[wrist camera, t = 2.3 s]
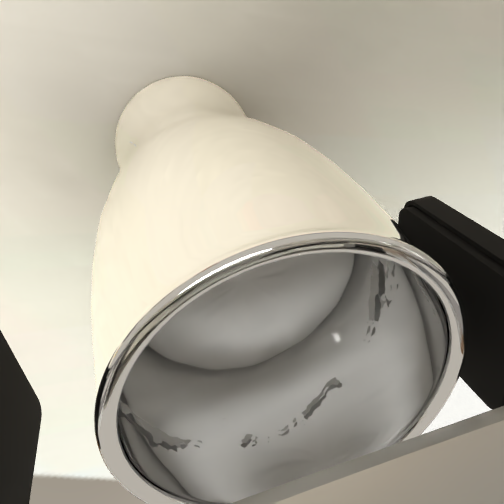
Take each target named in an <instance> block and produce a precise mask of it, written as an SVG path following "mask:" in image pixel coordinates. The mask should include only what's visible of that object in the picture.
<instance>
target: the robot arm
mask: <svg viewBox="0 0 504 504" xmlns="http://www.w3.org/2000/svg"><path fill="white" fill-rule="evenodd" d="M398 225H399V226H400V227H401V228H402V230H403V231H404V232H405V233H406V234H407V235H408V236H409V237H410V238H411V239H412V240H413V242H414V243H415V244H416V245H417V246H418V247H419V248H420V249H421V250H422V251H423V252H424V253H426V254H427V255H428V256H430V257H431V258H432V259H434V260H435V261H436V262H437V263H438V264H439V265H441V266H442V268H443V269H444V270H445V271H446V272H447V273H448V274H449V276H450V277H451V278H452V280H453V281H454V283H455V285H456V286H457V288H458V290H459V292H460V294H461V296H462V299H463V302H464V305H465V308H466V313H467V319H468V346H467V352H466V357H465V361H464V364H463V367H462V370H461V373H460V377H461V378H462V379H463V380H464V381H465V382H466V384H467V385H468V386H469V387H470V388H471V389H472V390H473V391H474V392H475V393H476V394H477V395H478V396H479V397H480V398H481V400H482V401H483V402H484V403H485V404H486V405H487V406H488V407H489V408H491V409H493V410H490V411H488V412H485V413H482V414H479V415H476V416H473V417H471V418H468V419H465V420H462V421H459V422H456V423H454V424H451V425H448V426H445V427H442V428H439V429H437V430H434V431H431V432H428V433H425V434H422V435H420V436H417V437H414V438H411V439H408V440H405V441H403V442H400V443H397V444H394V445H391V446H389V447H386V448H383V449H380V450H378V451H375V452H372V453H369V454H366V455H364V456H361V457H358V458H355V459H352V460H350V461H347V462H344V463H341V464H338V465H336V466H333V467H330V468H327V469H325V470H322V471H319V472H316V473H313V474H311V475H308V476H305V477H302V478H300V479H297V480H294V481H291V482H288V483H286V484H283V485H280V486H277V487H275V488H272V489H269V490H266V491H263V492H261V493H258V494H255V495H252V496H250V497H247V498H244V499H241V500H239V501H236V502H233V503H230V504H504V239H502V238H501V237H499V236H497V235H496V234H494V233H492V232H491V231H489V230H488V229H486V228H484V227H483V226H481V225H479V224H478V223H476V222H474V221H473V220H471V219H469V218H468V217H466V216H465V215H463V214H461V213H460V212H458V211H456V210H455V209H453V208H451V207H450V206H448V205H446V204H445V203H443V202H441V201H440V200H438V199H437V198H435V197H432V196H428V197H423V198H419V199H415V200H411V201H408V202H407V203H406V204H405V206H404V209H402V210H401V211H400V213H399V221H398ZM41 415H42V413H41V406H40V402H39V400H38V398H37V396H36V394H35V392H34V390H33V389H32V387H31V385H30V383H29V381H28V380H27V378H26V376H25V374H24V372H23V370H22V369H21V367H20V365H19V363H18V361H17V360H16V358H15V356H14V354H13V352H12V350H11V349H10V347H9V345H8V343H7V341H6V340H5V338H4V336H3V334H2V332H1V331H0V504H29V500H30V492H31V486H32V479H33V472H34V465H35V458H36V451H37V444H38V437H39V430H40V423H41Z"/></svg>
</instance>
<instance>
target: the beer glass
mask: <svg viewBox="0 0 504 504" xmlns="http://www.w3.org/2000/svg"><path fill="white" fill-rule="evenodd" d="M115 152H116V158H117V162H118V165H119V168H120V171H119V173H118V175H117V177H116V179H115V181H114V183H113V185H112V187H111V190H110V192H109V195H108V198H107V200H106V203H105V205H104V208H103V211H102V214H101V217H100V220H99V225H98V230H97V236H96V243H95V249H94V255H93V262H92V285H91V323H92V345H93V359H94V372H95V387H96V403H95V411H94V428H95V435H96V440H97V444H98V448H99V451H100V453H101V456H102V458H103V461H104V463H105V464H106V466H107V468H108V469H109V471H110V472H111V474H112V475H113V476H114V478H115V479H116V480H117V481H118V482H119V483H120V484H121V485H122V486H123V487H124V488H125V489H126V490H128V492H130V493H131V494H132V495H134V496H135V497H137V498H138V499H140V500H141V501H143V502H145V503H147V504H230V503H233V502H236V501H239V500H241V499H244V498H247V497H250V496H252V495H255V494H258V493H261V492H263V491H266V490H269V489H272V488H275V487H277V486H280V485H283V484H286V483H288V482H291V481H294V480H297V479H300V478H302V477H305V476H308V475H311V474H313V473H316V472H319V471H322V470H325V469H327V468H330V467H333V466H336V465H338V464H341V463H344V462H347V461H350V460H352V459H355V458H358V457H361V456H364V455H366V454H369V453H372V452H375V451H378V450H380V449H383V448H386V447H389V446H391V445H394V444H397V443H400V442H403V441H405V440H408V439H411V438H414V437H417V436H420V435H421V434H422V433H423V432H424V430H425V429H426V428H427V427H428V426H429V425H430V424H431V422H432V421H433V420H434V419H435V417H436V416H437V415H438V413H439V412H440V410H441V409H442V408H443V406H444V405H445V403H446V401H447V400H448V398H449V396H450V395H451V393H452V391H453V389H454V387H455V385H456V383H457V381H458V378H459V376H460V373H461V370H462V367H463V364H464V361H465V357H466V352H467V346H468V319H467V313H466V308H465V305H464V302H463V299H462V296H461V294H460V292H459V290H458V288H457V286H456V285H455V283H454V281H453V280H452V278H451V277H450V276H449V274H448V273H447V272H446V271H445V270H444V269H443V268H442V266H441V265H439V264H438V263H437V262H436V261H435V260H434V259H432V258H431V257H430V256H428V255H427V254H426V253H424V252H423V251H422V250H421V249H420V248H419V247H418V246H417V245H416V244H415V243H414V242H413V240H412V239H411V238H410V237H409V236H408V235H407V234H406V233H405V232H404V231H403V230H402V228H401V227H400V226H399V225H398V224H397V223H396V222H395V221H394V220H393V219H392V217H391V216H390V215H389V214H388V213H387V212H386V211H385V210H384V209H383V208H382V207H381V206H380V205H379V204H378V203H377V202H376V201H375V200H374V199H373V198H372V197H371V196H370V195H369V194H368V193H367V192H366V191H365V190H364V189H363V188H362V187H361V186H360V185H359V184H358V183H357V182H356V181H354V180H353V179H352V178H351V177H350V176H349V175H348V174H347V173H345V172H344V171H343V170H342V169H341V168H340V167H339V166H338V165H336V164H335V163H334V162H333V161H332V160H330V159H329V158H328V157H326V156H325V155H323V154H322V153H320V152H319V151H317V150H316V149H314V148H313V147H312V146H310V145H309V144H307V143H306V142H304V141H303V140H301V139H300V138H298V137H296V136H294V135H292V134H291V133H289V132H286V131H284V130H282V129H279V128H277V127H274V126H272V125H270V124H267V123H265V122H262V121H259V120H256V119H253V118H249V117H246V115H245V113H244V111H243V110H242V108H241V107H240V105H239V104H238V103H237V101H236V100H235V99H234V98H233V97H232V96H231V95H230V94H229V93H228V92H227V91H225V90H224V89H223V88H221V87H220V86H218V85H216V84H214V83H212V82H210V81H208V80H205V79H202V78H198V77H192V76H174V77H168V78H164V79H161V80H158V81H156V82H153V83H151V84H150V85H148V86H146V87H145V88H143V89H142V90H140V91H139V92H138V93H137V94H136V95H135V96H134V97H133V98H132V99H131V100H130V101H129V103H128V104H127V105H126V107H125V108H124V110H123V112H122V114H121V116H120V118H119V121H118V124H117V128H116V134H115Z"/></svg>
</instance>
